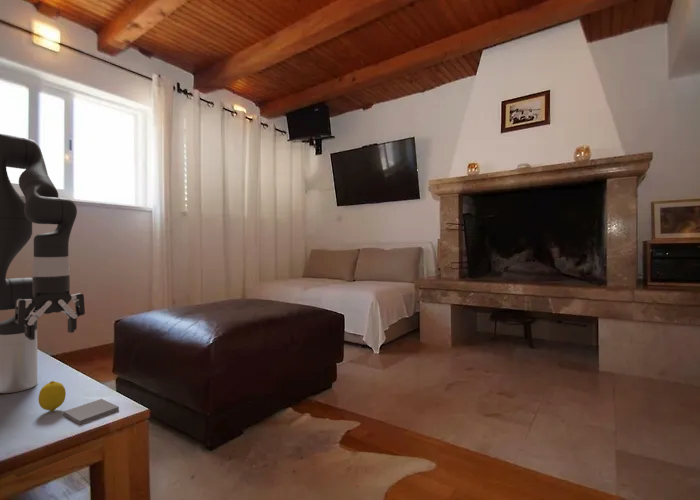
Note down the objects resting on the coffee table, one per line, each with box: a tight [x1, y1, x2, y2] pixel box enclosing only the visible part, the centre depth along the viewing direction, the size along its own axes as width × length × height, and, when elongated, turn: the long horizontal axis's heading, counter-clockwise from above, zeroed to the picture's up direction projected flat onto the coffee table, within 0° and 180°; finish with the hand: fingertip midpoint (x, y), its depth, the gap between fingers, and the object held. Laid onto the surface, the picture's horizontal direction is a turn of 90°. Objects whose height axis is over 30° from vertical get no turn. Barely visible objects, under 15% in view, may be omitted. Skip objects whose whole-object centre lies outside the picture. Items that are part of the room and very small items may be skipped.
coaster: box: [62, 398, 120, 426], centre depth 95 cm, size 9×9×1 cm
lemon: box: [37, 380, 66, 412], centre depth 96 cm, size 6×6×8 cm
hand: (51, 335), depth 95 cm, fingers open, 8 cm apart
